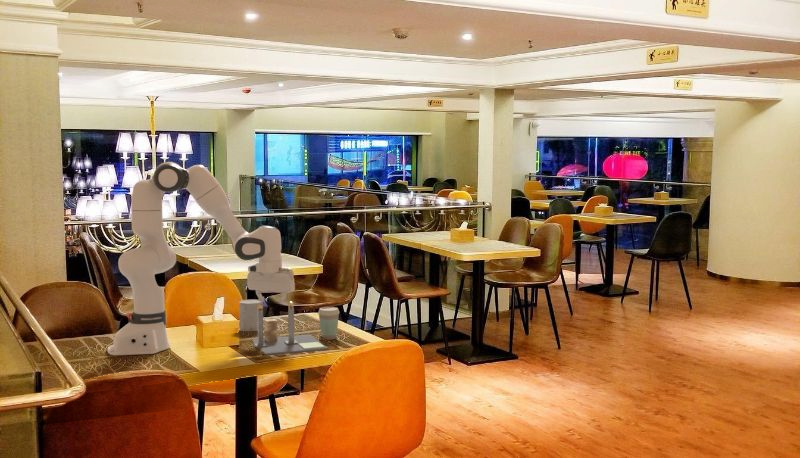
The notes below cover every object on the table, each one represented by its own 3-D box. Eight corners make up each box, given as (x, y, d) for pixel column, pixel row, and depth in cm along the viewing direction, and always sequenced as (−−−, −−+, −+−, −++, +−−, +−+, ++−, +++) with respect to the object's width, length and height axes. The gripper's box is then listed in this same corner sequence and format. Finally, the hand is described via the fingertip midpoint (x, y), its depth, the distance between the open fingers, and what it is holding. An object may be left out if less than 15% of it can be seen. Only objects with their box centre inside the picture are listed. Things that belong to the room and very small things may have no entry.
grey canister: (235, 332, 342) (235, 302, 341) (246, 327, 351) (245, 298, 350) (256, 333, 340) (256, 304, 338) (266, 328, 349) (266, 299, 347)
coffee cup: (341, 336, 336) (341, 306, 335) (337, 341, 328) (337, 311, 326) (320, 335, 337) (320, 306, 336) (316, 340, 328) (316, 310, 327)
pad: (304, 349, 311) (304, 348, 311) (298, 344, 318) (298, 343, 318) (324, 347, 314) (324, 346, 314) (318, 342, 321) (318, 341, 321)
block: (267, 341, 323) (267, 321, 322) (265, 339, 326) (264, 319, 326) (277, 340, 324) (277, 320, 323) (275, 338, 328) (274, 318, 327)
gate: (256, 347, 313) (255, 305, 311) (253, 345, 317) (253, 303, 315) (298, 344, 319) (298, 302, 317) (295, 341, 323) (295, 300, 321)
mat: (265, 355, 304) (265, 353, 304) (251, 341, 326) (251, 339, 326) (327, 349, 313) (327, 347, 313) (310, 336, 335) (310, 334, 335)
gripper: (297, 267, 321) (298, 302, 322) (253, 264, 329) (254, 299, 331) (288, 269, 315) (289, 305, 316) (244, 267, 324) (245, 301, 325)
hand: (271, 302), depth 324 cm, fingers open, 8 cm apart
